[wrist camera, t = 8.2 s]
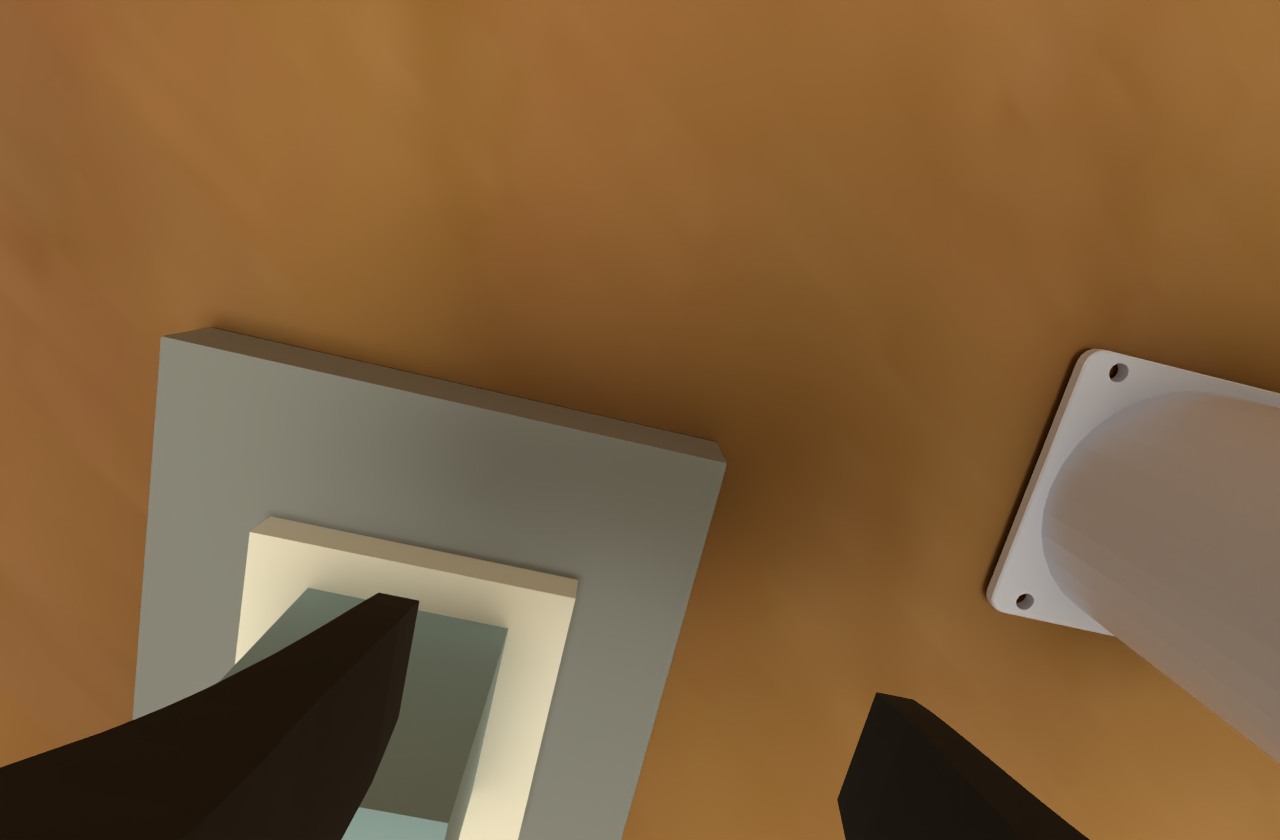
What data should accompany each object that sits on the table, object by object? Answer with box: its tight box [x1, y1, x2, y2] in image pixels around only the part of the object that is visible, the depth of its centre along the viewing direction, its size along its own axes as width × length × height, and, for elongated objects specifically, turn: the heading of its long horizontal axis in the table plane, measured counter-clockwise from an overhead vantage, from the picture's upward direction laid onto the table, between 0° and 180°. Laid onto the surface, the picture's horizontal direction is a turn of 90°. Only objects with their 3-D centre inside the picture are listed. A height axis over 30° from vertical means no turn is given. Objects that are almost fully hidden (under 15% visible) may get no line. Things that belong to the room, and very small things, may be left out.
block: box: [219, 588, 508, 840], centre depth 15 cm, size 5×5×6 cm
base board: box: [133, 327, 727, 840], centre depth 19 cm, size 14×16×3 cm
